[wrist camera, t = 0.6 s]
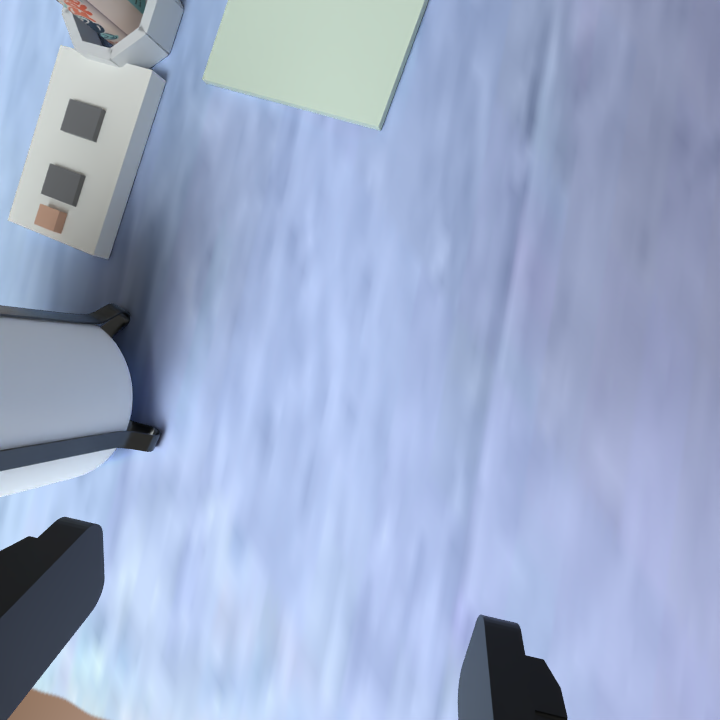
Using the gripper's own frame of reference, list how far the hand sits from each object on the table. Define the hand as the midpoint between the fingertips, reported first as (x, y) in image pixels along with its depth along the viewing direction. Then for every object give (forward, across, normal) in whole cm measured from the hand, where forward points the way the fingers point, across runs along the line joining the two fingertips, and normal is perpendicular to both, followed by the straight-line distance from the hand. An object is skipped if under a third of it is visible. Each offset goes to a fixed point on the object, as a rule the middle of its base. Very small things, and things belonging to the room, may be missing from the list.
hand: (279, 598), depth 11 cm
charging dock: (+33, +25, -9) cm, 42 cm away
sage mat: (+32, +8, -18) cm, 38 cm away
